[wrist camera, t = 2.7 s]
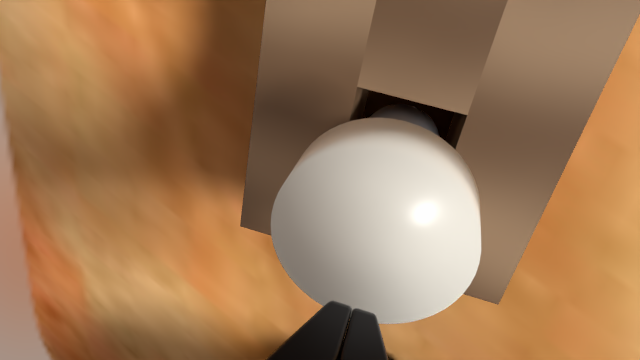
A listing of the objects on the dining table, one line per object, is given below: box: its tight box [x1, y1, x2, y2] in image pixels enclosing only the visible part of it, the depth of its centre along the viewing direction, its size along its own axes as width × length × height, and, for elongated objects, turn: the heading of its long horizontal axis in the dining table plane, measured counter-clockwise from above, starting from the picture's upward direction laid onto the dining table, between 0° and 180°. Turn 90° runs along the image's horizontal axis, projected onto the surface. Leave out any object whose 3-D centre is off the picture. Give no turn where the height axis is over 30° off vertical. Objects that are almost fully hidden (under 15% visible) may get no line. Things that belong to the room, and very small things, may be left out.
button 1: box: [271, 104, 481, 324], centre depth 14 cm, size 5×5×6 cm
